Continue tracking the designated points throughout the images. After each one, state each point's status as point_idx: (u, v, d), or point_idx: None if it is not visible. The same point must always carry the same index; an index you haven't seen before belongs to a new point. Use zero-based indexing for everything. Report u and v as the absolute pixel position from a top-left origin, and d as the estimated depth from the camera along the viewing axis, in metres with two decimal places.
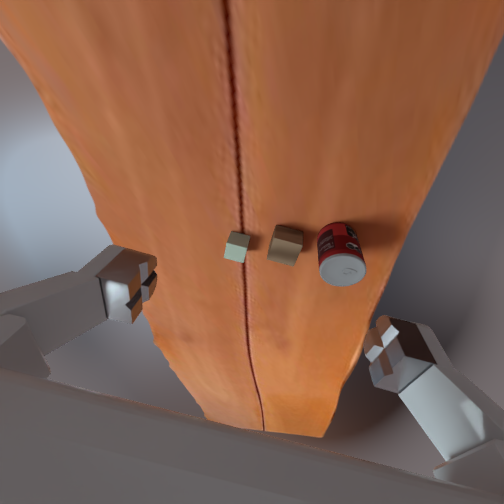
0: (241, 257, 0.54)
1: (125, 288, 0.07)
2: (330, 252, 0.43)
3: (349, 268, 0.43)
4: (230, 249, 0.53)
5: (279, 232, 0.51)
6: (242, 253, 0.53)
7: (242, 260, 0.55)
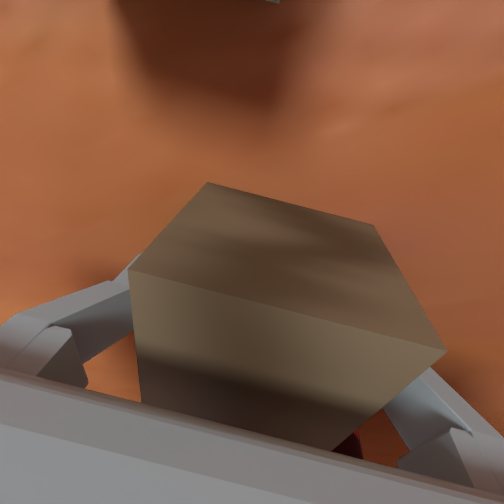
0: None
1: None
2: None
3: None
4: None
5: None
6: None
7: None
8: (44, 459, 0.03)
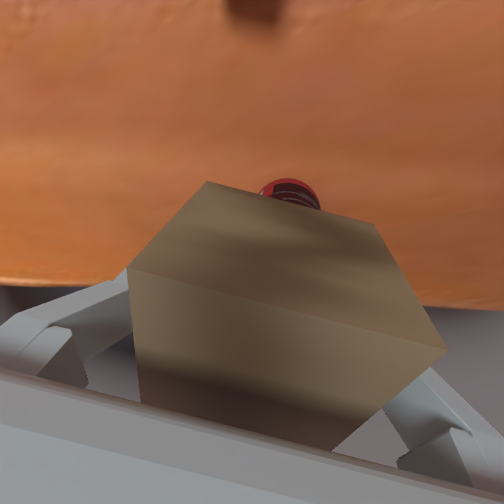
0: None
1: None
2: None
3: None
4: None
5: None
6: None
7: None
8: (44, 459, 0.03)
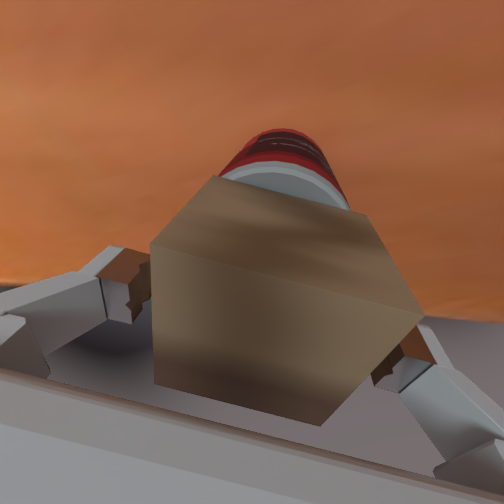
0: None
1: (125, 288, 0.07)
2: (341, 190, 0.11)
3: None
4: None
5: None
6: None
7: None
8: (44, 459, 0.03)
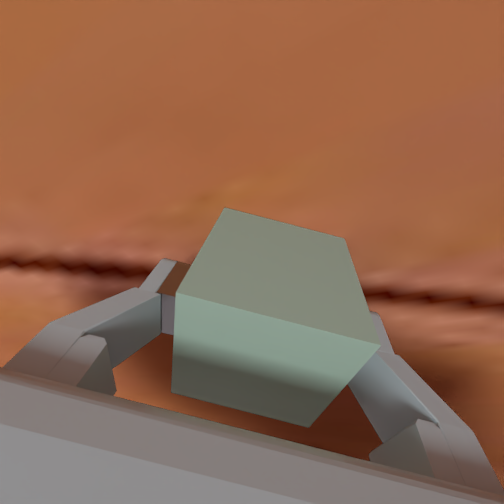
0: (218, 393, 0.07)
1: None
2: None
3: None
4: (293, 355, 0.06)
5: None
6: (257, 406, 0.07)
7: (192, 393, 0.08)
8: (44, 459, 0.03)
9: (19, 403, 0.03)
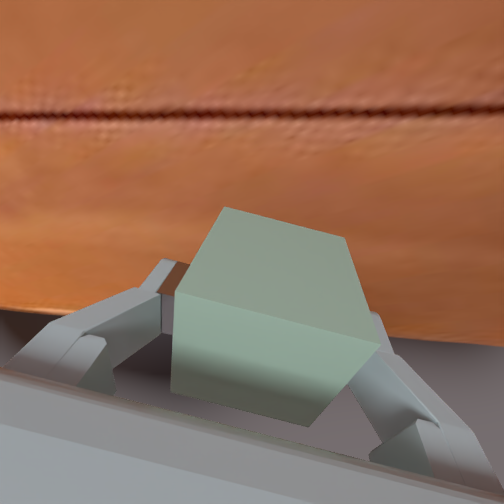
0: (218, 393, 0.07)
1: None
2: None
3: None
4: (293, 354, 0.06)
5: None
6: (256, 405, 0.07)
7: (191, 392, 0.08)
8: (44, 459, 0.03)
9: (19, 403, 0.03)
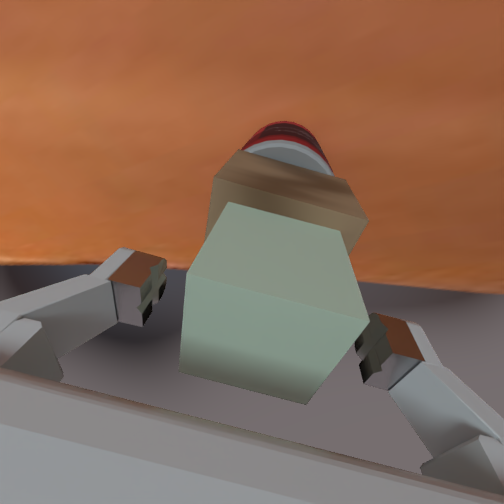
0: (223, 372, 0.08)
1: (137, 291, 0.07)
2: (328, 163, 0.14)
3: None
4: (292, 332, 0.06)
5: None
6: (258, 383, 0.08)
7: (198, 372, 0.08)
8: (44, 459, 0.03)
9: (19, 403, 0.03)
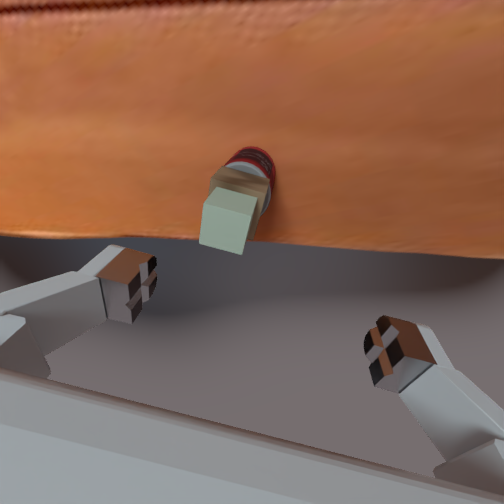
0: (213, 241, 0.24)
1: (125, 288, 0.07)
2: (265, 171, 0.31)
3: None
4: (232, 221, 0.23)
5: None
6: (225, 245, 0.24)
7: (205, 242, 0.25)
8: (44, 459, 0.03)
9: (19, 403, 0.03)
